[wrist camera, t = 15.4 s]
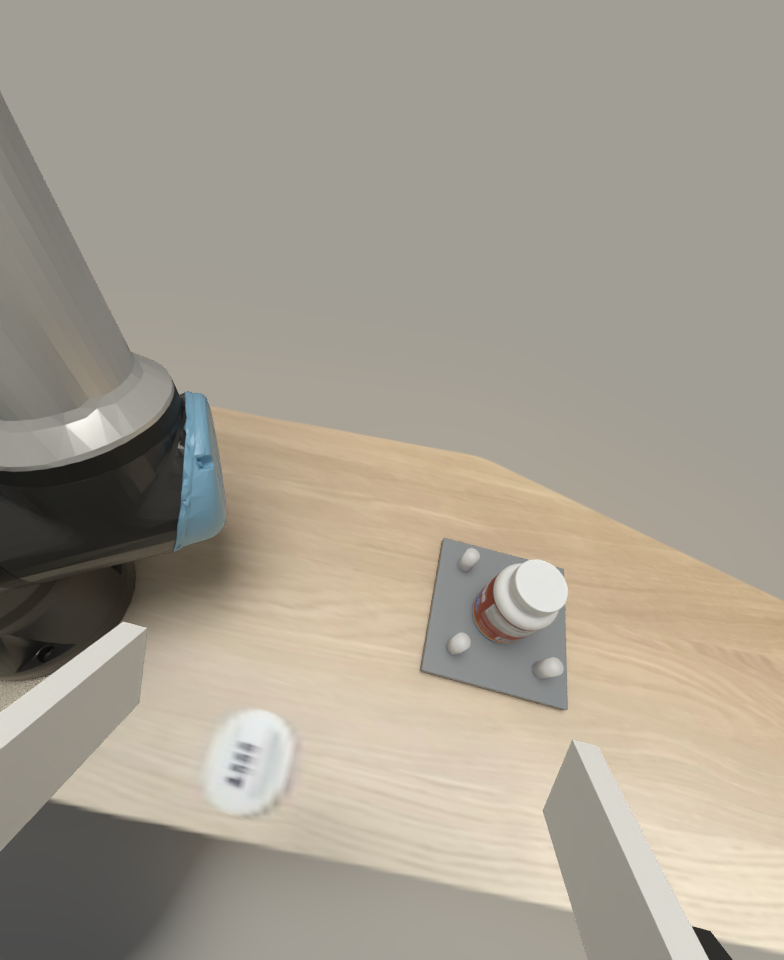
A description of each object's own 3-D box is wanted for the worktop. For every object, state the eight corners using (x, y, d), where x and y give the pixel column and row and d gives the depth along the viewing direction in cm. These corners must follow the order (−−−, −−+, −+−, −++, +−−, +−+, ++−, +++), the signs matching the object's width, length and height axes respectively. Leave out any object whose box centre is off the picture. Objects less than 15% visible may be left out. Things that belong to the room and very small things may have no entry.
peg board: (419, 671, 39) (428, 665, 35) (441, 541, 47) (450, 525, 43) (561, 710, 38) (586, 708, 34) (559, 572, 47) (579, 558, 43)
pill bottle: (496, 576, 44) (537, 538, 35) (536, 620, 42) (591, 591, 33) (459, 609, 42) (492, 576, 32) (499, 657, 39) (548, 637, 30)
